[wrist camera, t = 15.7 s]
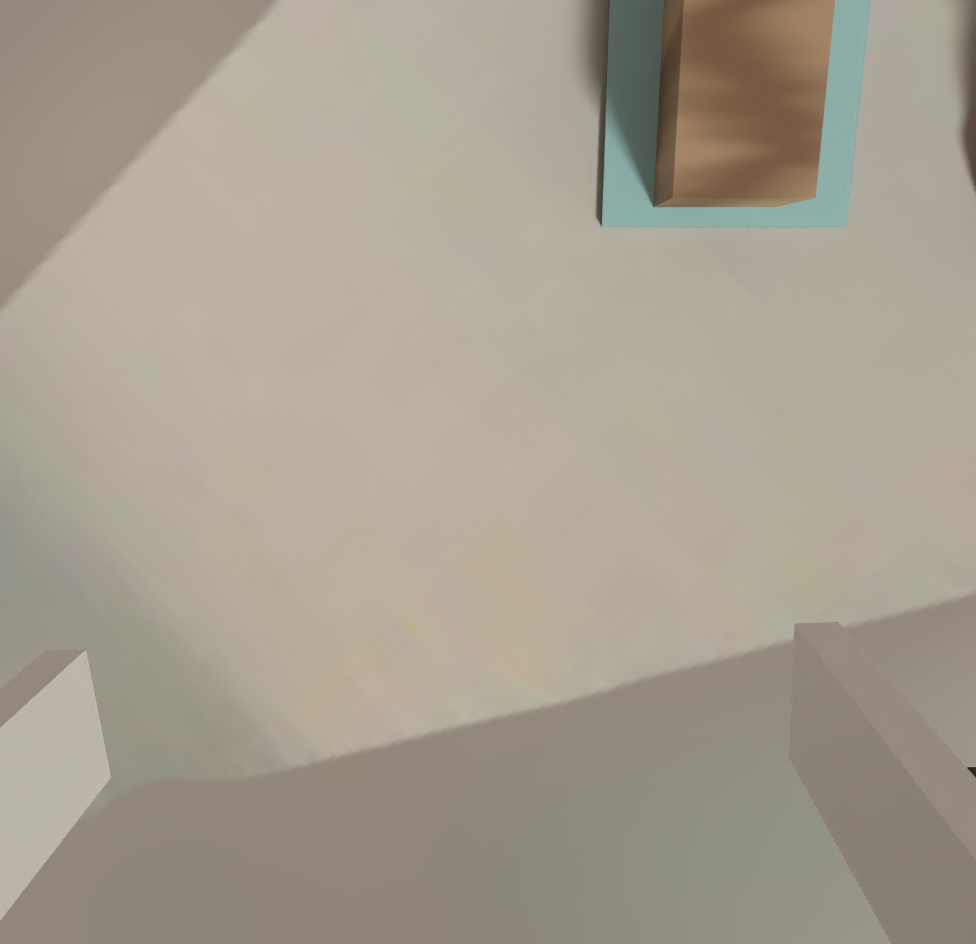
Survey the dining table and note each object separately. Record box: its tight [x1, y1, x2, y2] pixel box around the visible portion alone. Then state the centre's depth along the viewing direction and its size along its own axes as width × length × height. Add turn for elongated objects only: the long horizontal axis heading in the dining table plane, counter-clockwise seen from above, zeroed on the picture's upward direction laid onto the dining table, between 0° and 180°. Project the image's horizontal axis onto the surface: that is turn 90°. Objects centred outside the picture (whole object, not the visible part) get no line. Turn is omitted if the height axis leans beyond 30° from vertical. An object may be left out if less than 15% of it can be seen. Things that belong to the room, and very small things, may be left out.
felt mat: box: [601, 0, 870, 227], centre depth 32 cm, size 10×15×1 cm, turn 0°
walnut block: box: [653, 0, 835, 207], centre depth 30 cm, size 5×5×13 cm
